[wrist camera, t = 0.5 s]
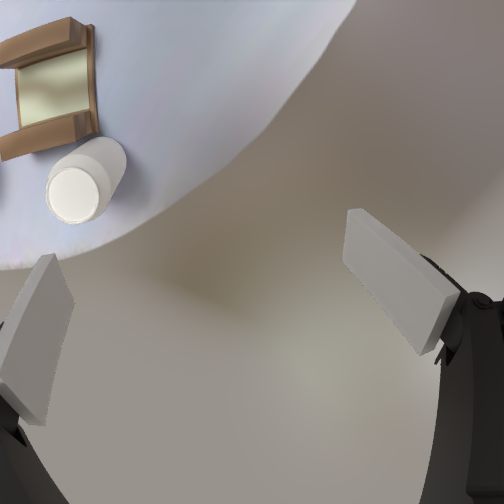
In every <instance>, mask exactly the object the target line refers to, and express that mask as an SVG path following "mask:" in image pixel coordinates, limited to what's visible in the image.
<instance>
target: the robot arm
mask: <svg viewBox="0 0 504 504" xmlns="http://www.w3.org/2000/svg"><path fill="white" fill-rule="evenodd" d="M342 262H343V263H344V264H345V265H346V266H347V267H348V269H349V270H350V271H351V272H352V273H353V274H354V275H355V276H356V278H357V279H358V280H359V281H360V283H361V284H362V285H363V286H364V287H365V289H366V290H367V291H368V292H369V293H370V295H371V296H372V297H373V298H374V299H375V301H376V302H377V303H378V304H379V305H380V307H381V308H382V309H383V310H384V312H385V313H386V314H387V315H388V317H389V318H390V319H391V320H392V321H393V323H394V324H395V325H396V327H397V328H398V329H399V330H400V331H401V333H402V334H403V336H404V337H405V338H406V339H407V341H408V342H409V343H410V345H411V346H412V347H413V348H414V350H415V351H416V352H417V354H418V355H419V356H421V355H423V354H425V353H428V352H430V351H432V350H434V348H435V346H436V344H437V342H438V341H439V338H441V340H442V341H443V342H444V345H443V347H442V349H441V351H440V353H439V354H438V356H437V358H436V360H435V363H434V364H437V363H438V361H439V360H440V359H441V364H440V365H441V374H440V389H439V400H438V409H437V419H436V426H435V432H434V439H433V445H432V451H431V456H430V461H429V466H428V471H427V475H426V479H425V484H424V488H423V492H422V496H421V499H420V503H419V504H504V298H503V300H502V301H495V302H493V300H492V299H491V298H490V297H488V296H487V295H485V294H483V293H480V292H470V293H467V291H466V290H465V289H463V288H462V287H461V286H460V285H459V284H458V283H457V282H456V281H455V280H454V279H453V278H451V277H450V276H449V275H448V274H446V273H445V271H444V270H442V269H441V268H439V266H438V265H437V264H436V263H434V262H433V261H432V260H431V259H429V258H427V257H425V256H423V255H421V254H418V253H417V252H416V251H415V250H414V249H412V248H411V247H410V246H409V245H408V244H406V243H405V242H404V241H403V240H402V239H400V238H399V237H398V236H397V235H395V234H394V233H393V232H392V231H390V230H389V229H388V228H386V227H385V226H384V225H383V224H382V223H380V222H379V221H378V220H376V219H375V218H374V217H372V216H371V215H370V214H369V213H367V212H366V211H365V210H363V209H362V208H359V209H350V210H348V214H347V223H346V232H345V240H344V248H343V255H342ZM74 305H75V302H74V299H73V297H72V295H71V292H70V290H69V288H68V285H67V283H66V280H65V278H64V276H63V273H62V271H61V268H60V266H59V263H58V260H57V257H56V255H55V253H53V254H48V255H42V256H41V257H40V258H39V260H38V262H37V263H36V265H35V267H34V268H33V270H32V272H31V273H30V275H29V277H28V278H27V280H26V282H25V284H24V286H23V287H22V289H21V291H20V293H19V295H18V297H17V298H16V300H15V302H14V304H13V306H12V308H11V310H10V312H9V314H8V316H7V318H6V320H5V322H2V324H1V325H0V504H69V503H68V501H67V500H66V499H65V497H64V496H63V494H62V493H61V492H60V490H59V489H58V487H57V486H56V484H55V483H54V481H53V480H52V478H51V477H50V476H49V474H48V472H47V471H46V469H45V468H44V466H43V464H42V463H41V461H40V459H39V458H38V456H37V454H36V452H35V451H34V449H33V447H32V445H31V444H30V442H29V440H28V438H27V436H26V435H25V432H24V430H23V429H22V427H21V426H20V425H19V424H18V419H19V416H20V417H21V418H22V419H23V420H24V421H25V422H26V423H27V424H28V425H38V426H45V423H46V417H47V411H48V405H49V401H50V395H51V391H52V386H53V381H54V377H55V373H56V368H57V364H58V360H59V356H60V352H61V349H62V345H63V342H64V338H65V334H66V331H67V328H68V324H69V321H70V318H71V314H72V311H73V309H74Z"/></svg>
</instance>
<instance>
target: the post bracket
mask: <svg viewBox="0 0 504 504" xmlns="http://www.w3.org/2000/svg"><path fill="white" fill-rule="evenodd" d="M0 69H15V85H16V100H17V111H18V120H19V129H20V130H18V131H15V132H13V133H10V134H8V135H5V136H3V137H0V154H1V159H2V162H3V161H6V160H9V159H13V158H16V157H19V156H22V155H26V154H29V153H33V152H37V151H40V150H44V149H48V148H52V147H56V146H60V145H64V144H68V143H73V142H76V141H78V140H80V139H81V138H83V137H85V136H87V135H92V134H97V133H98V132H99V129H98V119H97V108H96V95H95V79H94V25H92V24H90V25H86V26H85V25H83V24H81V23H80V22H78V21H77V20H75V19H73V18H72V17H67V18H63V19H60V20H57V21H54V22H51V23H48V24H45V25H42V26H40V27H37V28H34V29H32V30H29V31H26V32H24V33H21V34H19V35H17V36H14V37H12V38H10V39H8V40H5V41H3V42H1V43H0Z"/></svg>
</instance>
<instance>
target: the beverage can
mask: <svg viewBox="0 0 504 504" xmlns="http://www.w3.org/2000/svg"><path fill="white" fill-rule="evenodd" d="M126 163H127V161H126V155H125V152H124V150H123V148H122V147H121V145H120V144H119V143H118V142H117V141H115V140H113V139H111V138H108V137H96V138H93V139H91V140H89V141H87V142H85V143H84V144H82V145H81V146H79V147H78V148H76V149H75V150H73V151H72V152H70V153H69V154H68V155H66V156H65V157H63V158H62V159H61V160H59V161H58V162H57V163H56V164H55V165H54V166H53V168H52V169H51V171H50V173H49V176H48V179H47V188H46V201H47V205H48V207H49V209H50V211H51V212H52V214H53V215H54V216H55V217H56V218H57V219H59V220H60V221H62V222H64V223H67V224H81V223H84V222H89V221H91V220H94V219H95V218H97V217H98V216H100V215H101V214H102V213H103V211H104V210H105V209H106V207H107V205H108V203H109V201H110V199H111V197H112V196H113V194H114V192H115V190H116V188H117V186H118V184H119V183H120V181H121V179H122V177H123V175H124V173H125V170H126Z"/></svg>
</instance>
